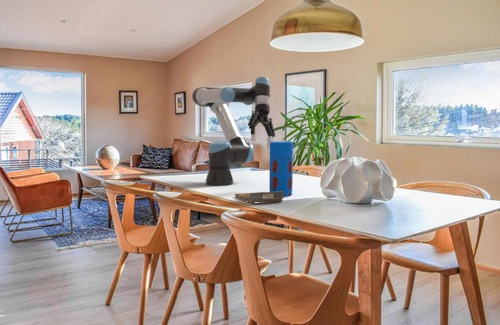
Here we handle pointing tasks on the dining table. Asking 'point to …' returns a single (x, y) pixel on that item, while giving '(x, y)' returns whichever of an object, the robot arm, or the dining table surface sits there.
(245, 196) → the shelf board
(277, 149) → the blue tall block
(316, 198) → the dining table surface
